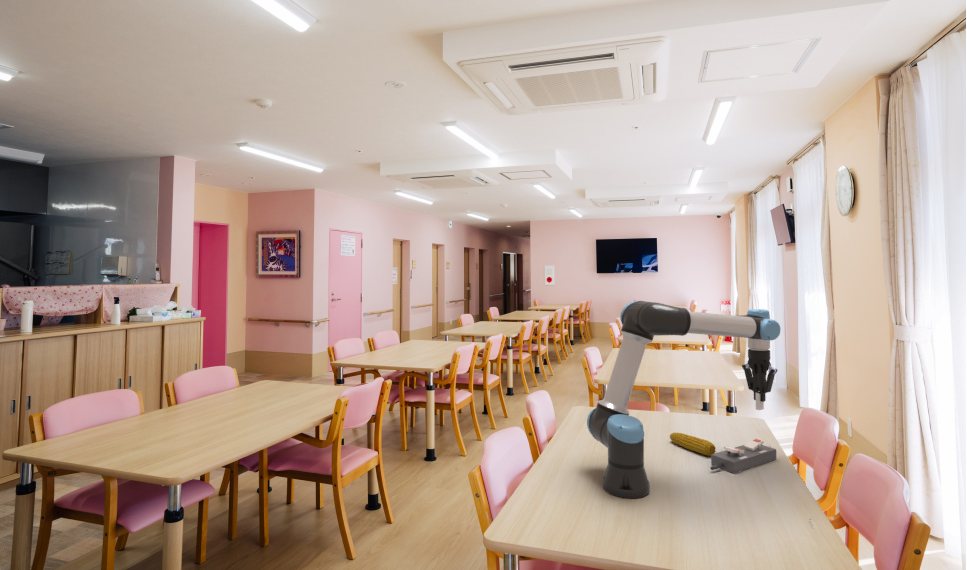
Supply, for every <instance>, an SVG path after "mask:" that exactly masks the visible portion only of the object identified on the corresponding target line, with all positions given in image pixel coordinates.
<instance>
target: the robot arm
mask: <svg viewBox="0 0 967 570" xmlns="http://www.w3.org/2000/svg"><path fill="white" fill-rule="evenodd" d="M619 319H620V322H621V325H622V326H621V329H620V333H621V336H622V340H621V344H620V346H619V349H618V353H617V356H616V360H615V362H614V365H613V369H612V371H611V374H610V378H609V381H608V384H607V387H606V390H605V393H604V396H603V399H600V400H598V402H597V404H596V406H595V407H594V408H593V409H592V410H590V412H589V414H588V415H587V418H586V426H587V429H588V432H589V434H590V435H591V436H592V437H593V439H595V440H596V441H597V442H599V443H601V444H602V445H603V446H605V448H607V465H606V469H605V473H604V475H603V478H602V487H603V489H604V490H605V492H607V493H608V494H611V495H613V496H615V497H620V498H626V499H638V498H639V499H640V498H644V497H645V496H648V495H649V494H650V487H651V485H650V482H649V479H648V475H647V473H646V469H645V453H644V452H645V447H644V445H645V443H644V441H645V440H644V438H645V431H644V424H643V423H642V422H641V420H640V419H638V418H637V417H635V416H632V415H631V416H630V412H629V410H628V404H629V401H630V398H631V394H632V392H633V388H634V386H635V381H636V378H637V376H638V374H639V369H640V366H641V363H642V360H643V357H644V354H645V351H646V348H647V345H649V344H651V343H653V340H654V337H655V336H682V337H684V336H686V335H688V334H695V335H705V336H706V335H709V336H718V337H720V336H721V337H732V338H745V339H746V338H747V348H748V349H747V357H748V360H747V363H744V364H742V365H741V367H742V369H743V372H744V375H745V381H746V384H747V387H748V388H747V389H748V390H750V391H752V392H753V400H754V401H755V410H757V411H761V410H764V409H765V408H764V407H765V406H764V403H765V402H766V401H767V400H766V399H767V398H766V394H767V393H771V391H772V388H773V384H774V380H775V375H776V374H777V372H778V369H777V368H774V367H772V364H771V362H770V360H771V350H770V349H771V341H774V340H776V339H777V338H778V337H779V336H780V335H781V326H780V325H781V324H780V323H779V322H778V321H776V320H775V319H771V315H770V311H769V310H768V309H763V308H761V309H760V308H754V309H753V308H752V309H751V308H750V309H748V310H747V313H746V314H745V315H743V314H742V315H733V314H732V315H731V314H719V313H711V312H709V313H708V312H698V311H690V310H688V309H687V308H686V307H678V306H673V305H670V304H669V305H668V304H664V303H661V302H656V301H655V302H653V301H645V300H636V301H631V302H629V303H628V304H626V305H624V307H623V308H622V310H621V312H620V318H619ZM767 373H768V374H767Z"/></svg>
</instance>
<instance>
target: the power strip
mask: <svg viewBox="0 0 967 570" xmlns="http://www.w3.org/2000/svg"><path fill="white" fill-rule="evenodd" d="M746 444H747V443H746ZM746 444H743V445H739V446H735V447H734V448H738V449H741V450H743V451H744V454H743V453H733V452H730V451H727V450H721V451H718V452H715V453H714V454H711V456H710V457H711V458H710V459H711V461H710V462H711V466H710V467H709V468H710V471H714V470H717V469H721V470H723V471H726V472H729V473H732V474H736V473H739V472H743V471H746V470H749V469H752V468H755V467H758V466H761V465H764V464H766V463H767V464H768V463H769V462H773V461H775V460H777V448H775V447H771V446H767V445H764V444H762V445H761V446H759V447H758V448H756V449H755V450H754V451H752V450H749V449H746V448H744V445H746Z"/></svg>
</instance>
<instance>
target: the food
mask: <svg viewBox="0 0 967 570" xmlns="http://www.w3.org/2000/svg"><path fill="white" fill-rule="evenodd" d="M669 439H670V440H671V442H673V443H674V444H676V445H678V446H680V447H681V448H684V449H686V450H689V451H692V452H696V453H698V454H701V455H703V456H707V457H711V454H714V453H717V452H716V449H717V448H716V446H715V444H714V443H713V442H711V441H709V440H706V439H704V438H700V437H696V436H693V435H689V434H686V433H681V432H672V433H670V435H669Z"/></svg>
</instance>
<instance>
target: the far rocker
mask: <svg viewBox="0 0 967 570" xmlns="http://www.w3.org/2000/svg"><path fill="white" fill-rule="evenodd" d="M743 445H744V448H746V449H749V450H752V451H754V450H755V449H756V448H758V447H759V446H761V445H764V440H762V439H758V438H753V439H751V440H750V441H749V442H747V443H746V445H745V444H743Z"/></svg>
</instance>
